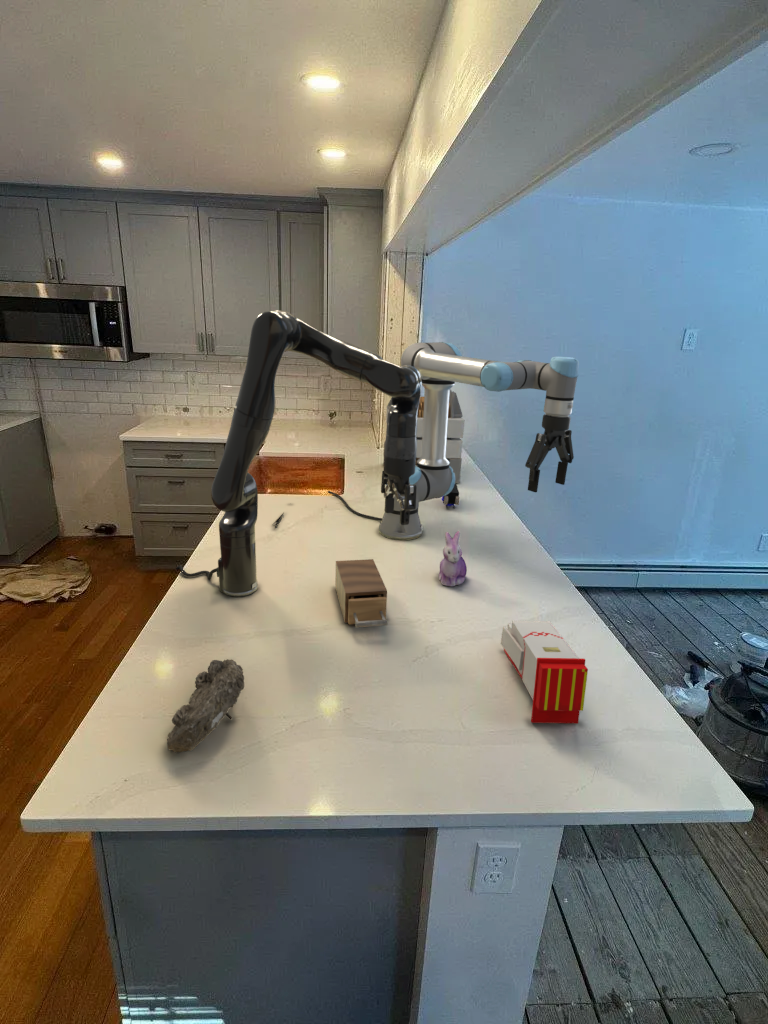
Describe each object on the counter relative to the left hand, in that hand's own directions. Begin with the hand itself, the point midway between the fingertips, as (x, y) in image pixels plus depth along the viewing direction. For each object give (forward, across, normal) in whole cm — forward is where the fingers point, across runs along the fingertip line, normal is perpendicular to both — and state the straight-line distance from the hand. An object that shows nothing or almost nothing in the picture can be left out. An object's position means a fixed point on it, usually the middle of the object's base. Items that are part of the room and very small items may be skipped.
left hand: (396, 518), depth 138 cm
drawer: (+26, -3, -7) cm, 27 cm away
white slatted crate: (+27, -117, +71) cm, 139 cm away
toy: (+26, +37, +17) cm, 48 cm away
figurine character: (+27, -71, +60) cm, 97 cm away
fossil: (+27, +23, -49) cm, 60 cm away
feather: (+27, -79, -8) cm, 84 cm away
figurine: (+27, -11, +25) cm, 38 cm away
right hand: (-1, -7, +52) cm, 53 cm away
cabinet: (+27, -8, -6) cm, 28 cm away
